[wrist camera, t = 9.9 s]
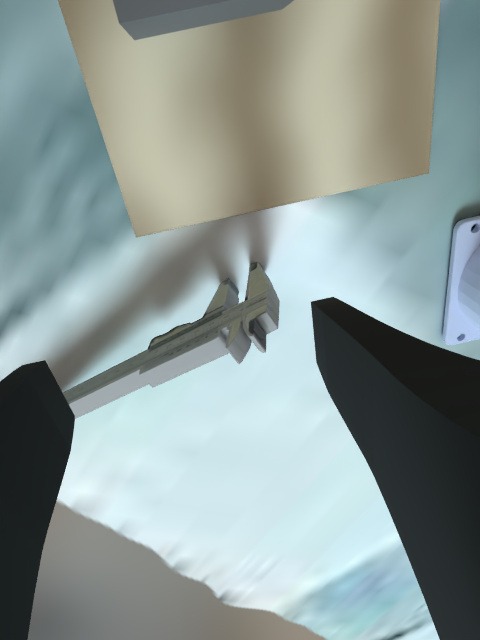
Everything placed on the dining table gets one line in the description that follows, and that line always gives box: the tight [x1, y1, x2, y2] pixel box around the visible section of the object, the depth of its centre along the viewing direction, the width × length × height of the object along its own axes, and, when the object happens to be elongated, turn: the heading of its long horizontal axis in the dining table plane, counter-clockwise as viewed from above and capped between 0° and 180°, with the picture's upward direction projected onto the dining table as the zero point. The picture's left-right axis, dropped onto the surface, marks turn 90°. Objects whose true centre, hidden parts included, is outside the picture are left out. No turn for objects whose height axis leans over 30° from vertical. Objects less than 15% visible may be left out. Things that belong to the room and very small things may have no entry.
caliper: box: [63, 263, 279, 419], centre depth 20 cm, size 21×1×6 cm, turn 122°
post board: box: [58, 0, 440, 237], centre depth 14 cm, size 14×13×5 cm
